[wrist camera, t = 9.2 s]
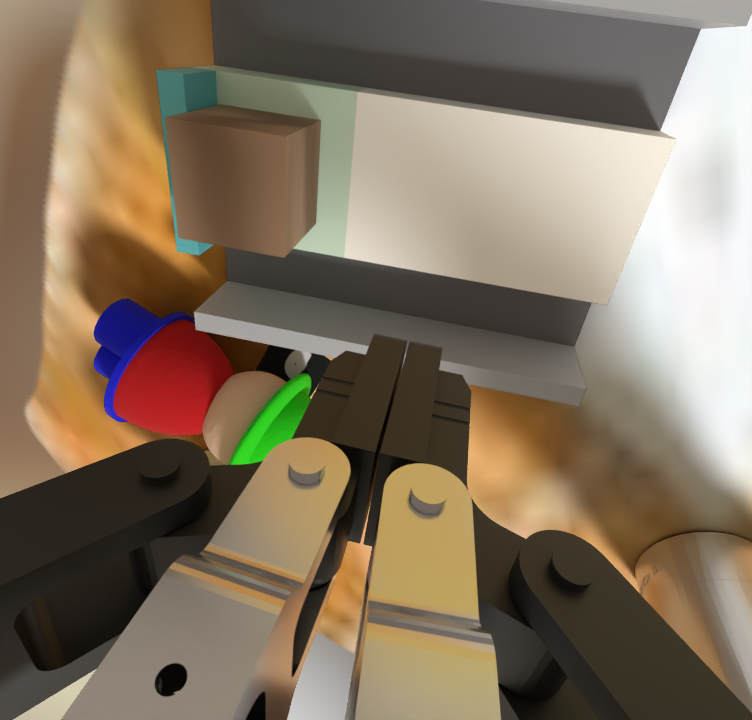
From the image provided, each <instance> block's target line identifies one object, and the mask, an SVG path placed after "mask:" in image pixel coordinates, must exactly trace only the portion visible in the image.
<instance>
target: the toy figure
mask: <svg viewBox="0 0 752 720" xmlns="http://www.w3.org/2000/svg"><path fill="white" fill-rule="evenodd" d="M94 337H95V340H96V341H97V342H98V343H99V344H101V345H102V346H101V347H100V349H99V351H98V352H97V354H96V357H95V359H94V368H95V370H96V371H97V372H99V373H100V374H102V375H103V376H105V377H107V378H108V379H110V380H109V382H108V385H107V388H106V392H105V397H104V407H105V411H106V413H107V414H108V415H109V416H110V417H112V418H113V419H115V420H116V421H119V422H130V423H132V424H135V425H137V426H139V427H142V428H145V429H147V430H150V431H154V432H158V433H163V434H168V435H179V436H183V435H196V434H201V433H203V437H204V440H205V442H206V445H207V447H208V448H209V450H210V451H211V452H212V454H213V455H214V456H215V457H216V458H217V459H218V460H219V461H220V462H222V463H223V464H225V465H240V464H251V463H256V462H260V461H263V460H264V459H265V457H266V456H267V454H268V453H269V452H270V451H271V450H272V449H273V448H274V447H276V446H277V445H279V444H281V443H283V442H285V441H287V440H291V439H292V437H293V435H294V433H295V431H296V429H297V427H298V425H299V423H300V421H301V419H302V417H303V415H304V413H305V411H306V409H307V407H308V405H309V403H310V401H311V399H310V396H311V395H312V393H313V392H314V390H315V389H316V387H317V386H318V384H319V382H320V381H321V379H322V378H323V375H324V373H325V371H326V369H327V367H328V365H329V363H330V360H329V359H328V358H326V357H325V356H324V355H319V354H314V353H309V352H304V351H299V350H294V349H289V348H284V347H279V346H274V345H269V347H268V349H267V350H266V352H265V354H264V356H263V358H262V360H261V362H260V364H259V365H258V367H257V369H256V371H248V372H242V373H238V374H236V375H235V372H234V370H233V367H232V365H231V363H230V361H229V360H228V358H227V356H226V355H225V353H224V352H223V350H222V349H221V348H220V347H219V346H218V344H217V343H216V342H215V341H214V340H213V339H212V338H211V337H210V336H209V335H208V334H207V333H206V332H204V331H199V330H196V327H195V319H194V318H193V317H192V316H190V315H188V314H186V313H183V312H180V313H174V314H170V315H168V316H166V317H164V318H162V319H161V318H159V317H158V316H156V315H154V314H153V313H151V312H150V311H148V310H147V309H145V308H143V307H142V306H140V305H139V304H137V303H135V302H134V301H132V300H130V299H121V300H119V301H116V302H115V303H113V304H112V305H110V306H109V307H108V308H107V309H106V310H105V311H104V312H103V314H102V315H101V316H100V318H99V319H98V321H97V324H96V326H95V330H94Z"/></svg>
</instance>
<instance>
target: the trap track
mask: <svg viewBox="0 0 752 720" xmlns="http://www.w3.org/2000/svg"><path fill="white" fill-rule="evenodd" d="M751 14H752V0H211V15H212V32H213V49H214V65H211V66H198V67H186V68H174V69H162V70H156V75H157V84H158V93H159V101H160V110H161V118H162V127H163V135H164V144H165V152H166V161H167V170H168V178H169V187H170V195H171V204H172V212H173V221H174V230H175V238H176V247H177V251H178V252H183V253H189V254H194V255H201V254H202V253H203V252H205V251H206V250H207V249H209V248H210V247H211V246H213V245H212V244H207V243H202V242H196V241H191V240H185V239H180V238H178V230H177V221H176V212H175V203H174V194H173V185H172V176H171V167H170V158H169V149H168V140H167V131H166V122H165V117H168V116H172V115H177V114H181V113H185V112H190V111H194V110H198V109H203V108H207V107H211V106H216V105H220V104H222V105H228V106H235V107H241V108H247V109H254V110H260V111H266V112H273V113H279V114H285V115H292V116H298V117H304V118H311V119H317V120H321V134H320V155H319V176H318V196H317V217H316V224H315V226H314V227H313V228H312V229H311V230H310V231H309V232H308V233H307V234H306V235H305V236H304V237H303V238H302V239H301V240H300V242H299V243H298V244H297V245H296V246H295V247H294V248H293V249H292V250H291V251H290V252H289V253H288V254H287V255H286V257H285V258H283V257H277V256H272V255H266V254H261V253H256V252H250V251H245V250H239V249H234V248H229V247H225V251H226V268H227V282H226V283H224V284H223V285H222V286H221V287H220V288H219V289H218V290H217V291H216V292H215V293H214V294H213V295H211V296H210V297H209V298H208V299H207V300H206V301H205V302H204V303H203V304H202V305H201V306H200V307H198V308H197V309H196V310H195V311H194V318H195V327H196V330H199V331H204V332H209V333H214V334H219V335H224V336H229V337H234V338H239V339H244V340H249V341H254V342H259V343H264V344H269V345H274V346H279V347H284V348H289V349H294V350H299V351H304V352H309V353H314V354H319V355H324V356H329V357H334V358H336V357H337V356H339V355H340V354H342V353H343V352H345V351H351V352H356V353H360V354H365V355H366V353H367V350H368V348H369V345H370V343H371V340H372V338H373V335H374V334H380V335H385V336H390V337H395V338H399V339H404V340H407V345H406V351H405V356H406V353H407V349H408V345H409V342H410V341H414V342H419V343H424V344H429V345H434V346H439V347H442V355H441V361H440V368H439V370H441V371H446V372H451V373H455V374H460V375H463V377H464V379H465V381H466V383H467V384H469V385H474V386H479V387H484V388H489V389H494V390H499V391H504V392H509V393H514V394H519V395H524V396H529V397H534V398H539V399H544V400H549V401H554V402H559V403H564V404H569V405H574V406H579V405H580V403H581V400H582V398H583V396H584V393H585V391H586V386H585V382H584V379H583V375H582V372H581V369H580V365H579V362H578V358H577V355H576V352H575V348H574V346H575V343H576V340H577V338H578V335H579V333H580V330H581V328H582V325H583V323H584V320H585V318H586V315H587V313H588V310H589V308H590V305H591V303H597V304H602V305H607V304H608V301H609V299H610V297H611V294H612V292H613V289H614V287H615V285H616V282H617V280H618V278H619V275H620V273H621V270H622V268H623V266H624V263H625V261H626V259H627V256H628V254H629V251H630V249H631V247H632V244H633V242H634V239H635V237H636V235H637V232H638V230H639V228H640V225H641V223H642V220H643V218H644V216H645V213H646V211H647V208H648V206H649V204H650V201H651V199H652V197H653V194H654V192H655V189H656V187H657V185H658V182H659V180H660V177H661V175H662V173H663V170H664V168H665V166H666V163H667V161H668V158H669V156H670V154H671V151H672V149H673V146H674V144H675V142H676V139H675V138H673V137H671V136H669V135H667V134H665V133H663V132H661V131H660V130H661V127H662V125H663V122H664V120H665V117H666V115H667V112H668V110H669V107H670V105H671V102H672V100H673V97H674V95H675V92H676V90H677V87H678V85H679V82H680V80H681V77H682V75H683V72H684V70H685V67H686V65H687V62H688V60H689V57H690V55H691V52H692V50H693V47H694V45H695V42H696V40H697V37H698V35H699V32H700V30H701V29H706V28H721V27H736V26H747V23H748V21H749V19H750V16H751ZM405 356H404V360H405ZM403 364H404V361H403ZM402 368H403V367H402Z"/></svg>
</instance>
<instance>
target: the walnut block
mask: <svg viewBox="0 0 752 720" xmlns="http://www.w3.org/2000/svg"><path fill="white" fill-rule="evenodd" d="M165 122H166V131H167V140H168V149H169V158H170V167H171V176H172V185H173V194H174V203H175V212H176V221H177V230H178V238H180V239H185V240H191V241H196V242H202V243H207V244H212V245H218V246H223V247H229V248H234V249H239V250H245V251H250V252H256V253H261V254H266V255H272V256H277V257H283V258H285V257H286V255H287V254H288V253H289V252H290V251H291V250H292V249H293V248H294V247H295V246H296V245H297V244H298V243H299V242H300V240H301V239H302V238H303V237H304V236H305V235H306V234H307V233H308V232H309V231H310V230H311V229H312V228H313V227H314V226H315V224H316V217H317V196H318V176H319V155H320V134H321V120H317V119H311V118H304V117H298V116H292V115H285V114H279V113H273V112H266V111H260V110H254V109H247V108H241V107H235V106H228V105H222V104H220V105H216V106H211V107H207V108H203V109H198V110H194V111H190V112H185V113H181V114H177V115H172V116H168V117H165Z"/></svg>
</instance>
